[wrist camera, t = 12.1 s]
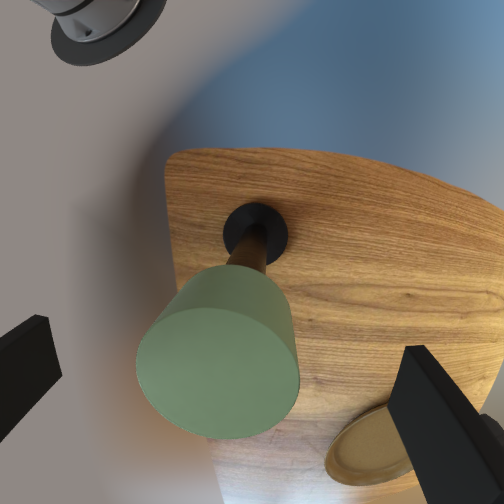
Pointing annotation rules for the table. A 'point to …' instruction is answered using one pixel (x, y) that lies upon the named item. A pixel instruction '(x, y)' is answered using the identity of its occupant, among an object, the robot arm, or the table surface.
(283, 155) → the table surface
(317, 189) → the table surface
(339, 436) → the plant saucer
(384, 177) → the table surface
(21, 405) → the robot arm
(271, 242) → the stand
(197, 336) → the sage green cylinder
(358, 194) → the table surface
